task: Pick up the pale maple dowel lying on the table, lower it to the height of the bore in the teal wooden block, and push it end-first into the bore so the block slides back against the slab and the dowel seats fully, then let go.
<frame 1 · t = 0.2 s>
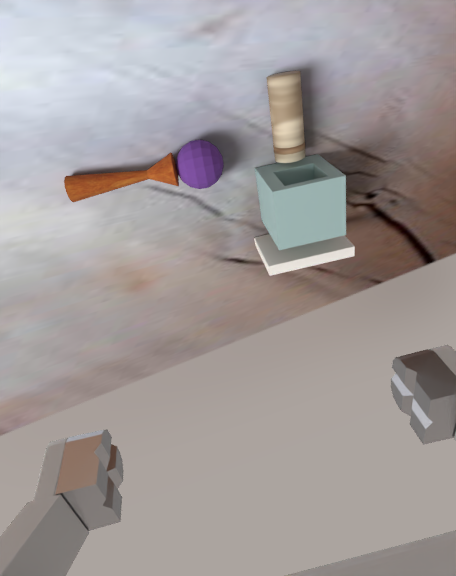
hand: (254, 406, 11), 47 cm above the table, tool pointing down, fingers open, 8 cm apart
dowel: (282, 115, 53), on the table
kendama: (146, 169, 54), on the table
slab: (292, 233, 63), on the table
block: (299, 200, 54), point 5 cm above the table, slide at 0.0 cm
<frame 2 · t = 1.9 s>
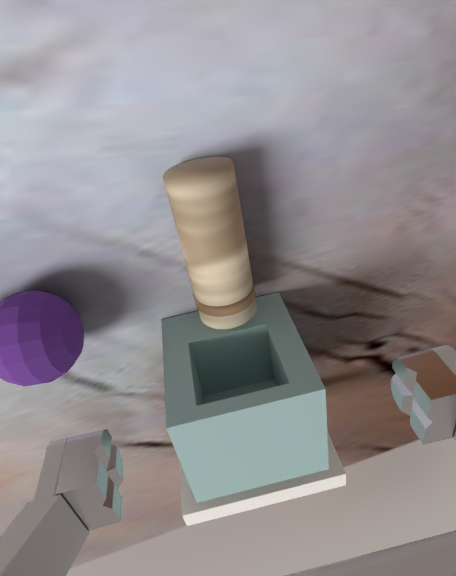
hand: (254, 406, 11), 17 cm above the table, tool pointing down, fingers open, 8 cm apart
dowel: (204, 235, 27), on the table, tilted 12°
slab: (242, 403, 37), on the table
block: (240, 390, 29), point 5 cm above the table, slide at 0.0 cm
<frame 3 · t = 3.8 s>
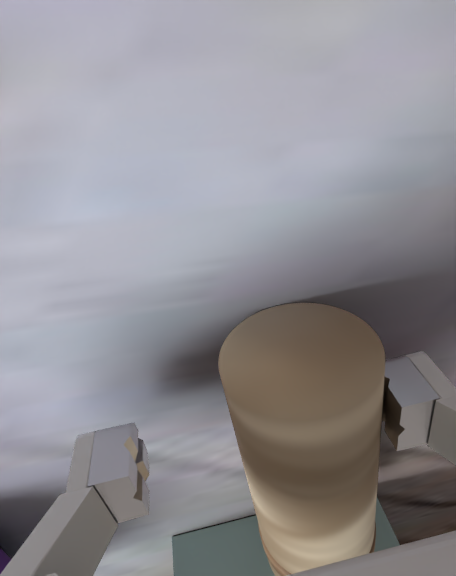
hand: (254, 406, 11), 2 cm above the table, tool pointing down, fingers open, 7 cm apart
dowel: (261, 434, 14), on the table, tilted 37°, touching gripper
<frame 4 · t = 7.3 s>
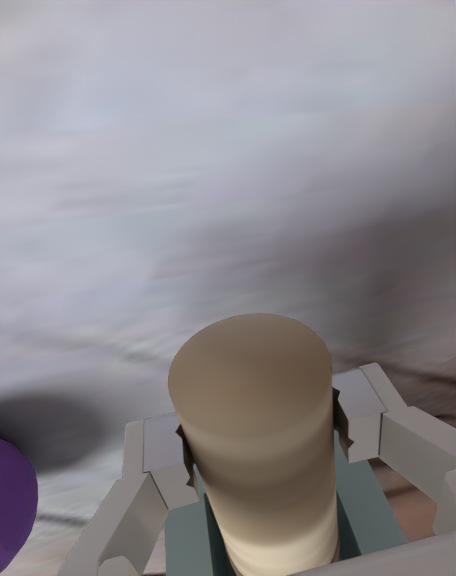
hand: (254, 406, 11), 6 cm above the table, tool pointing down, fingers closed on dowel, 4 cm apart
dowel: (254, 426, 14), point 4 cm above the table, touching gripper
block: (283, 558, 19), point 5 cm above the table, slide at 0.0 cm
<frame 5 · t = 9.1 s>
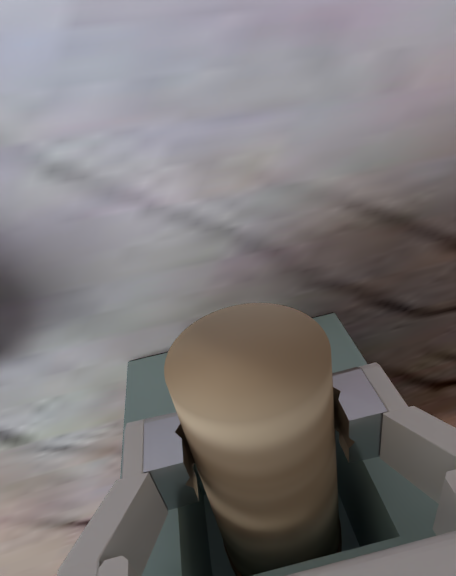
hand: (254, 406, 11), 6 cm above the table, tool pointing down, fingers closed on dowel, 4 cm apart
dowel: (253, 421, 14), point 4 cm above the table, touching block, gripper
block: (270, 497, 15), point 5 cm above the table, slide at 2.5 cm, touching dowel
when the fingers open (6 cm above the table, at t = 10.3 s): dowel stays where it is, resting on block.
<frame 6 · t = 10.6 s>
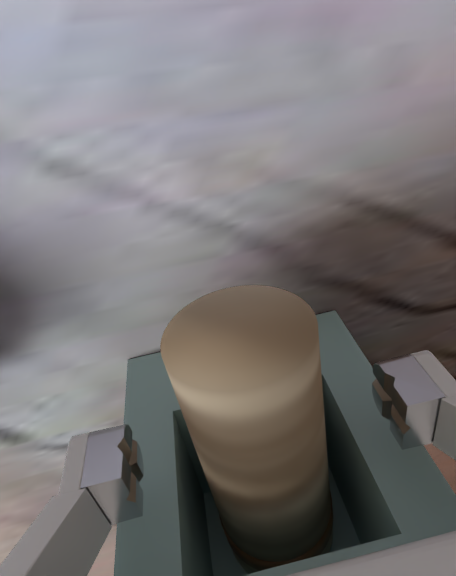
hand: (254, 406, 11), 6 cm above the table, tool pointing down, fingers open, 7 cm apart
dowel: (248, 401, 15), point 3 cm above the table, touching block
block: (271, 495, 15), point 5 cm above the table, slide at 2.5 cm, touching dowel
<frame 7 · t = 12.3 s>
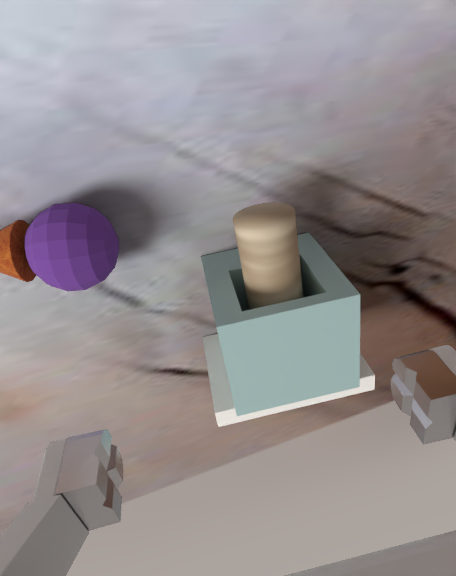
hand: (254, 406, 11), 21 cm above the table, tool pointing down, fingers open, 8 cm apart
dowel: (264, 268, 30), point 3 cm above the table, touching block
slab: (267, 328, 37), on the table
block: (275, 317, 31), point 5 cm above the table, slide at 2.5 cm, touching dowel
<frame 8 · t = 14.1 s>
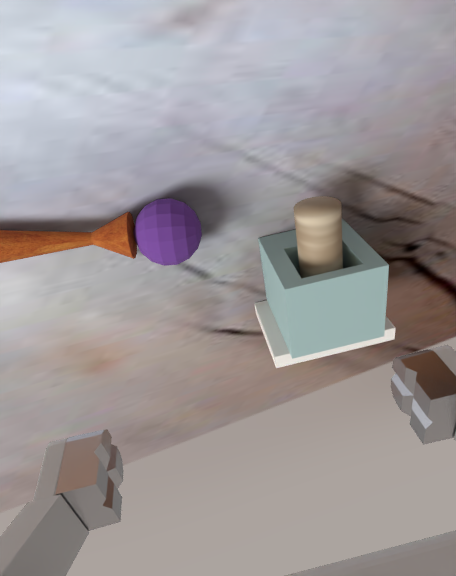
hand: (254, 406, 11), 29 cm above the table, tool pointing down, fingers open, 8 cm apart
dowel: (311, 246, 39), point 3 cm above the table, tilted 6°, touching block
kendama: (92, 226, 38), on the table
slab: (305, 296, 47), on the table
block: (318, 285, 40), point 5 cm above the table, slide at 2.5 cm, touching dowel
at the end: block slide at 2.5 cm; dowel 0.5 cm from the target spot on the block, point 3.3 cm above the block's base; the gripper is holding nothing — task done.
